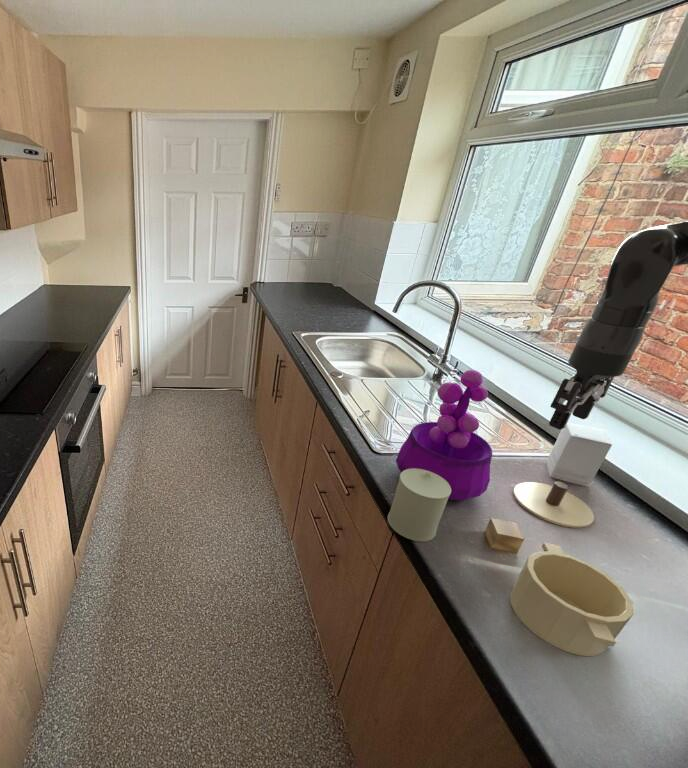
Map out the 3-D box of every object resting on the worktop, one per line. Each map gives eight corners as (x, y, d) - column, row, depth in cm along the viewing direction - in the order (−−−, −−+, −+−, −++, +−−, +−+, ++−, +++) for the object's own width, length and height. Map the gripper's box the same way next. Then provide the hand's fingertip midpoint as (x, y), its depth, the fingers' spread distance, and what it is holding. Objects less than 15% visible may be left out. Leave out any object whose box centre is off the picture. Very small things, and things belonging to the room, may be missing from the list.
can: (437, 520, 89) (454, 476, 84) (433, 548, 83) (450, 503, 77) (391, 503, 94) (403, 460, 89) (383, 529, 87) (396, 485, 82)
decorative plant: (391, 495, 96) (425, 380, 83) (393, 452, 111) (421, 348, 98) (488, 521, 89) (542, 399, 75) (476, 471, 104) (519, 361, 90)
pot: (576, 583, 75) (597, 550, 71) (635, 686, 60) (666, 651, 56) (495, 564, 79) (511, 532, 75) (531, 657, 64) (553, 622, 60)
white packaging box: (588, 489, 97) (613, 445, 92) (548, 478, 101) (570, 435, 95) (582, 472, 103) (605, 429, 97) (544, 462, 106) (564, 420, 101)
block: (508, 538, 85) (516, 522, 83) (516, 555, 81) (524, 539, 79) (483, 533, 86) (490, 517, 84) (489, 549, 82) (497, 533, 80)
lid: (573, 493, 96) (585, 472, 93) (605, 537, 85) (619, 514, 82) (503, 480, 100) (512, 460, 98) (524, 520, 89) (535, 498, 86)
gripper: (612, 359, 68) (571, 441, 76) (652, 345, 74) (610, 422, 81) (559, 345, 74) (525, 421, 82) (599, 332, 80) (564, 405, 87)
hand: (567, 422), depth 82 cm, fingers open, 8 cm apart
